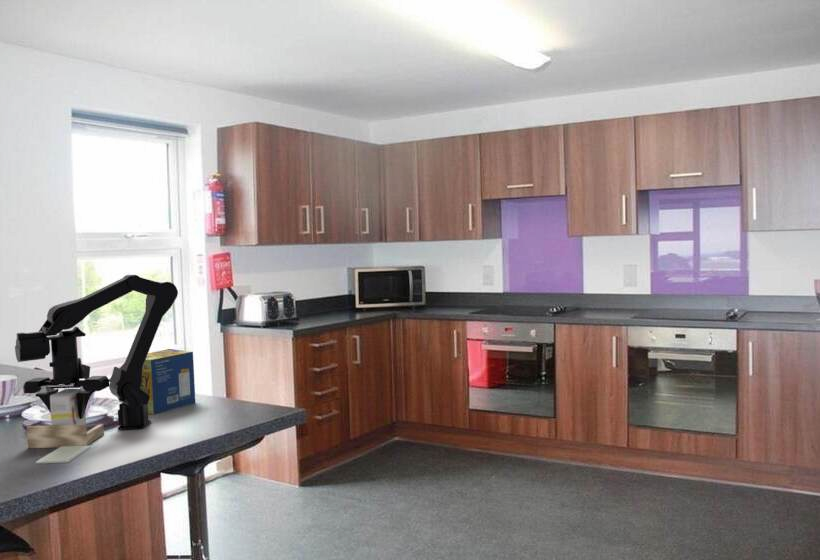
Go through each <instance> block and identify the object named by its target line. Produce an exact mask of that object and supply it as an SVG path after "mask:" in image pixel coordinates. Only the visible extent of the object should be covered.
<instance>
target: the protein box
mask: <svg viewBox="0 0 820 560" xmlns="http://www.w3.org/2000/svg"><path fill="white" fill-rule="evenodd" d="M194 367H195V366H194V351H190V350H189V351H188V350H183V349H182V350H181V349H172V348H168V349H162V350H158V351H154V352H153V351H152V352H148V355H147V357H146V360H145V362H144V365H143V368H142V383H141V387H140V389H141V390H142V391H144V392H145V393H146V394H148V395H149V396H150V398H149V401H148V415H156V414H160V413H163V412H167V411H170V410H174V409H178V408H182V407H184V406H188V405H191V404H195V403H196V392H195V391H196V388H195V387H196V386H195V371H194V370H195V368H194Z"/></svg>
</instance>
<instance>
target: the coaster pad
mask: <svg viewBox="0 0 820 560" xmlns="http://www.w3.org/2000/svg"><path fill="white" fill-rule="evenodd" d="M89 449H91V445H87V446H61V447H57V448H56V449H55V450H53V451H52V452H49V453H48V454H46V455H44V456H43V457H41V458H39V460H37V461H35V464H58V463H59V464H60V463H61V464H62V463H63V464H65V463H69V462H71V461H72V460H74V459H76V458H77V457H78V456H80V455H81V454H83V453H85V452H86V451H87V450H89Z"/></svg>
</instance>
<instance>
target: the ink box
mask: <svg viewBox="0 0 820 560" xmlns="http://www.w3.org/2000/svg"><path fill="white" fill-rule="evenodd" d="M80 391H81V389H80V388H63V389H62V390H59V391H58V392H57V393H55V394H53V395H50V396H51V397H50V406H51V413H50V420H51V421H50V422H51V423H50V424H51V425H82V424H86V425H87V415H86V411H85V414H84V417H83V418H82V419H80V418H79V414H78V405H77V397H76V393H78V392H80ZM87 429H88V428H87V427H86V431H88V430H87Z"/></svg>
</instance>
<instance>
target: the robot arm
mask: <svg viewBox="0 0 820 560" xmlns="http://www.w3.org/2000/svg"><path fill="white" fill-rule="evenodd" d="M132 292H137V293H140V294H143V295H145V296H146V297H145V311H144V315H143V317H142V320H141V321H140V324H139V327H138V330H137V332H136V334H135V336H134V338H133V342H132V344H131V347H130V349H129V351H128V354H127V357H126V358H125V361H124V362H123V364H122V365H121V366H120V367H117V366H114V367H113V369H112V374H111V376H110V378H108V376H107V375H92V376H90V373H91V366H89V365H87V364H84V363H82V359H81V357H79V355H78V354H79V353H78V339H77V338H79V337H81V338H82V337H86V333H85V332H83V331H82V330H81V329H80V328H79V326H77V325H78V324H79V323H80V322H82V321H83V320H84V319H85V318H87V316H89V315H90V314H92V312H94V311H96V310H97V309H100V308H101V307H104V306H105V305H108V304H110V303H112V302H114V301H115V300H117V299H120V298H121V297H123V296H125V295H126V296H127V294H128V295H129V293H132ZM178 293H179V292H178V289H177V286H176V285H175V284H174V283H172V282H170V281H161V280H156V281H154V280H152V279H148V278H144V277H142V276H139V275H137V274H126V275H124V276H123V277H122V278H120V279H117V280H115V281H113V282H112V283H110V284H108V285H105V286H104V287H101V288H100V289H97V290H95V291H93V292H92V293H89V294H87V295H86V296H84V297H82V298H81V297H80V298H77V299H73V300H70V301H69V300H68V301H66V302H62V303H59V304H55V305H54V306H51V307H50V308H49V310H48V311H47V313H46V314H47V315H46V320H45V321H44V323H43V324H42V326H41V327H40V329H39V330H38V331H33V332H17V333H16V339H15V346H14V352H15V353H14V354H15V359H16V361H17V363H23V362H29V361H37V360H45V359H46V358H47V357H46V356H49V355H50V353H51V362H49V364H48V365H49V368H52V378H50V377H34V378H31V379H29V380H26V381H25V382H24V384H23V386H22V387H23V389H22V390H23V394H35V395H34V396H35V397H37V398H39V399H40V400H41V401H42V403H43V404H44V405H45V407H46V408H47V409H48V412H49V413H50V414H51V406H50V397H51V396H50V395H53V394H55V393H57V392H59V391H60V390H59V389H81V391H80V392H78V393H76V397H77V405H78V414H79V418H80V419H82V418H83V417H84V414H85V412H86V411H87V408H88V407H87V406H88V405H89V401H90V399H91V396H92V395H93V393H95V392H100V391H103V390H105V389H107V388H109V391H110V393H111V394H112V395H113V396H114V397H116V398H117V401H119V404H118V405H119V406H118V408H119V409H117V420H118V423H117V424H118V427H117V430H141V429H144V428H146V426H148V425H150V424H151V423H152V420H149V413H148V401H149V398H150V396H149V395H148V394H146V393H145V392H144V391H142V390H141V389H140V387H141V383H142V368H143V365H144V362H145V360H146V357H147V355H148V353H150V350H151V346H152V345H153V342H154V339H155V336H156V335H157V332H158V329H159V328H160V324H161V322H162V319H163V318H164V316H165V314H167V312H169V310H170V309H171V307H172V306H173V305H174V302H175V301H176V299H177V298H178V295H179V294H178ZM72 328H73V329H72Z"/></svg>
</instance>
